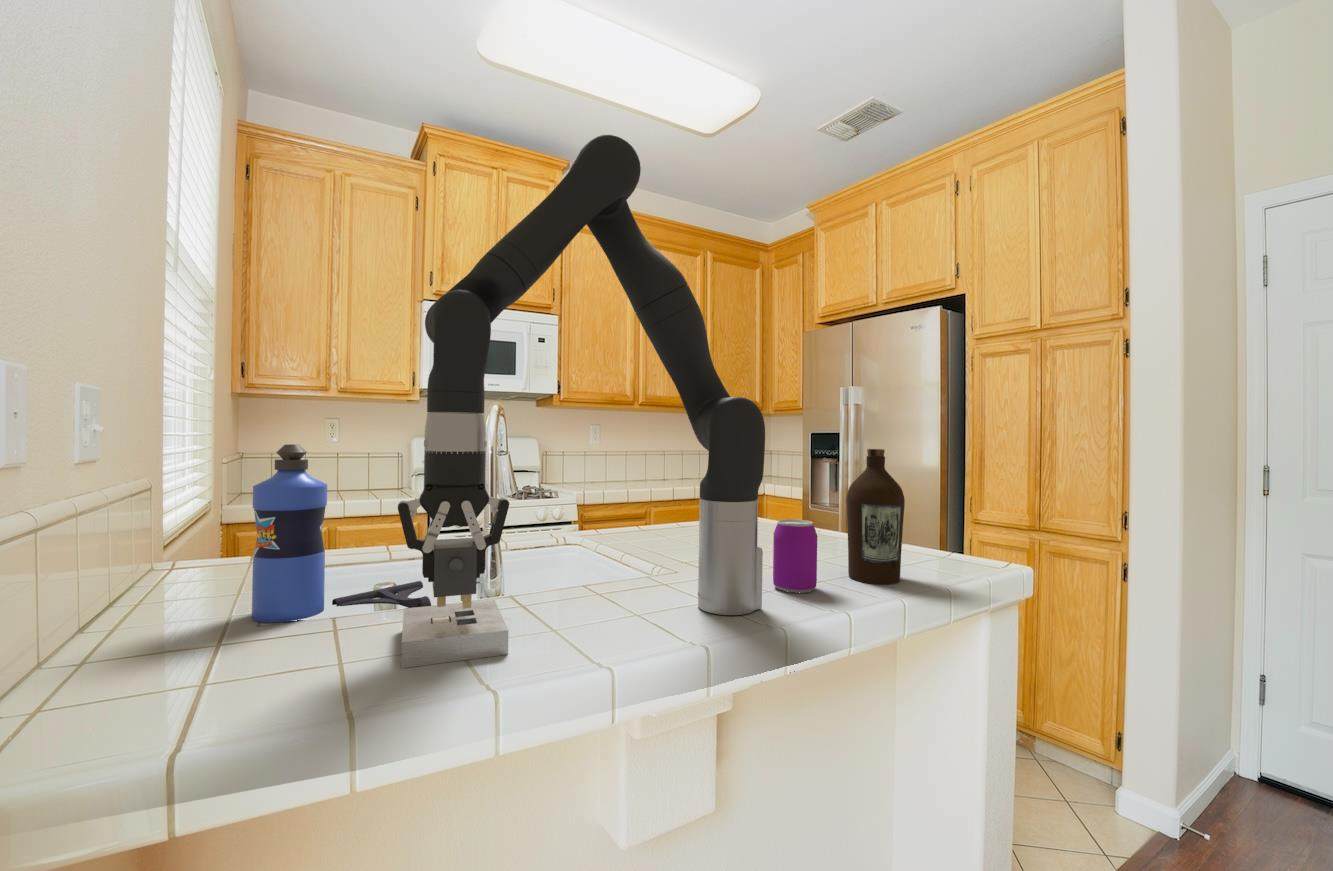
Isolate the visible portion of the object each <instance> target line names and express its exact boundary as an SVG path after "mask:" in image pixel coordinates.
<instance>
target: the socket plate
mask: <svg viewBox="0 0 1333 871" xmlns="http://www.w3.org/2000/svg"><path fill="white" fill-rule="evenodd" d="M443 617H449V620H450V622H444V623H434V624H432V619H433V618H443ZM507 655H509V629H508V626H507V625H506V622H505V619H504V617H503V615H502V614H501V610H500V609H499V606H498V605H497V602H496V600H495V599H490V600H481V601H480V600H478V601H471V608H465V609H463V602H459V603H458V602H457V603H447V604H446V606H444V607H437V604H436V605H431V606H425V607H414V608H408V607H405V608H403V616H402V634H401V656H400V657H401V664H400V665H401V666H400V668H401V669H406V668H407V669H408V668H412V667H413V668H414V667H420V666H429V665H430V666H431V665H437V664H444V663H445V664H446V663H451V662H452V663H453V662H459V661H466V660H467V661H468V660H474V659H475V660H476V659H483V658H490V657H497V656H498V657H499V656H507Z"/></svg>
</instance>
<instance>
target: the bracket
mask: <svg viewBox="0 0 1333 871" xmlns="http://www.w3.org/2000/svg"><path fill="white" fill-rule="evenodd" d="M422 588H424V584H423V582H422V581H421V580H418V581H417V580H416V581H412V582H409V583H404V584H398V585H393V586H389V587H388V586H387V587H384V588H379V589H374V590H370V591H364V592H360V593H355V594H351V595H346V596H341V597H337V598H333V599H332V601H331V605H333V606H336V607H347V606H358V605H371V604H372V605H375V604H386V605H387V604H389V605H399V606H402V607H405V608H414V607H425V606H432V603H431V599H430V598H429V597H428V596H427V595H425V596H422V597H421V596H420V597H413V598H412V597H409V596H410V595H412V594H413V593H415V592H417V591H419V590H421V589H422Z"/></svg>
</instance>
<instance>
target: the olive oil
mask: <svg viewBox="0 0 1333 871" xmlns="http://www.w3.org/2000/svg"><path fill="white" fill-rule="evenodd" d="M866 450H867V451H866V453H867V456H865V457H866V468H865V469H864V471H863V472H862V473H860V474H859V476H857V478H855V479H854V481H853V482H852V483H851V484H850V485H849V487H848V491H847V494H846V502H845V503H846V519H847V520H846V523H847V524H846V526H847V527H846V528H847V551H848V552H847V553H848V556H847V558H848V560H847V561H848V564H847V565H848V569H847V570H848V577H849V578H850V579H851V580H854V581H857V580H858V581H857V582H860V581H861V583H865V582H867V583H866V584H872V583H875V584H874V585H892V583H893V584H897V583H899V582H900V580H901V567H902V566H901V564H902V547H903V532H904V531H903V529H904V528H903V527H904V518H905V506H906V505H905V495H904V492H903V489H902V486H900V484H899V483H898V482H897V481H896V480H895V478H893V476H892V475H891V474H890V473H889V472H888V470H886V468H885V466H886V457H885V449H884V448H867V449H866Z"/></svg>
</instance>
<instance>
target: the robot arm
mask: <svg viewBox="0 0 1333 871" xmlns="http://www.w3.org/2000/svg"><path fill="white" fill-rule="evenodd" d="M641 167H642V166H641V162H640V158H639V155H638V153H637V150H635V148H634V147H633V146H632V145H631V144H630V143H629V141H627V139H626V140H625V139H624V138H623V137H621V136H618V135H614V134H602V135H599V136H596V137H594V138H592V139H590V140H589V141H588V142H587V143H586V144H585V145H584V146H583V147H582V148H581V149H580V151H579V153H578V154H577V156H576V159H575V160H574V161H573V163H572V165H571V166H570V169H569V171H568V172H567V174H565V176H564V177H563V179H562V180H561V181H560V182H559V183H557V185H556V186H555V188H553V190H552V191H551V192H550V193H549V194H548V195H547V196H546V197H545V198H543V200H542V201H541V202H540V203H539V204H538V205H537V206H536V207H535V208H534V209H533V210H532V211H530V212H529V213H528V214H527V215H526V216H525V217H524V218H523V219H522V220H520V221H519V222H518V223H517V224H516V225H515V226H514V227H512V228H511V229H510V230H509V231H508V232H507V233H506V234H505V235H504V236H503V237H502V238H500V240H499V241H497V243H495V244H494V245H493V246H492V247H491V248H490V249H489V250H488V251H487V252H486V253H485V254H484V255H483V256H482V257H481V258H480V259H479V260H478V262H477V263H476V264H475V265H474V267H473V268H472V269H471V270H470V272H469V273H467V275H465V277H463V278H462V279H461V280H460V281H458V282H457V283H456V284H455V285H453V287H451V288H450V289H449V290H448V291H447V292H446V293H444V294H442V295H441V296H439V298H438V299H436V301H435V302H434V303H433V304H432V305H431V306H430V307H429V308H428V310H427V312H426V316H425V318H424V319H425V320H424V328H425V332H426V335H427V337H428V338H429V340H430V341H431V342H432V343H433V354H432V355H433V357H432V358H433V359H432V360H433V361H432V362H433V363H432V368H431V370H430V372H429V375H428V379H427V389H426V390H427V391H426V393H427V394H426V412H427V413H426V420H425V427H424V439H423V448H424V452H423V453H424V457H423V464H424V465H423V490H422V493H421V494H420V496H419V497H417V498H414V499H411V500H400V501H399V502H398V504H397V511H398V515H399V520H400V522H401V523H400V524H401V527H402V531H403V535H404V538H405V539H404V540H405V543H406V546H407V548H408V549H410V550H417V551H420V552H421V554H422V567H421V568H422V571H421V572H422V577H423V578H424V579H427V581H428V583H433V582H434V550H433V547H434V544H435V542H436V540H438V537H439V535H440V532H441V530H442V528H452V527H454V526H457V527H463V528H465V527H468V529H469V531H470V534H471V538H473V540H474V542H475V544H476V545H477V579H480V578H481V575H482V574H484V573H485V571H486V550H487V549H488V548H489V547H491V546H493V545H498V544H499V543H500V541H501V538H502V534H503V531H504V527H505V522H506V519H507V515H508V510H509V507H510V502H509V500H508V499H506V498H505V497H499V498H498V497H495V496H494V497H493V496H490V494H488V491H487V488H486V458H487V457H486V455H487V454H486V452H487V450H486V449H487V445H488V444H487V443H488V442H487V441H488V440H487V429H486V423H485V422H486V421H485V393H486V392H485V375H486V368H487V364H488V363H487V362H488V356H489V350H490V344H491V335H492V334H491V333H492V323H493V322H494V321H495V320H496V319H497V317H499V315H500V314H501V313H503V311H504V310H506V309H507V308H508V307H510V306H511V305H513V304H514V303H516V302H517V301H519V299H520V298H522V297H523V296H524V295H525V293H527V292H528V291H529V290H530V289H531V288H532V287H533V286H534V284H535V283H536V282H537V281H539V280H540V279H541V277H542V276H543V275H544V274H545V273H546V272H547V271H548V270H549V268H550V267H551V266H552V265H553V264H554V263H555V261H556V260H557V259H558V258H559V257H560V256H561V254H562V253H563V252H564V251H565V249H566V248H567V247H568V245H569V244H571V242H572V241H573V240H574V239H575V237H576V236H577V235H578V234H579V232H581V230H583V228H584V227H586V226H587V228H588V229H589V231H590V232H591V233H592V236H593V237H594V238H595V240H596V241H597V243H598V245H599V246H600V247H601V249H602V252H604V254H605V255H606V257H607V260H608V262H609V263H610V265H611V268H612V270H613V272H614V274H615V276H616V277H617V279H618V281H619V283H620V285H621V287H622V289H623V291H624V292H625V294H626V296H627V298H628V300H629V302H630V306H632V309H633V310H634V313H635V315H636V317H637V319H638V320H639V323H640V324H641V327H642V329H643V330H644V332H645V334H646V335H647V337H648V339H649V341H650V342H651V344H652V346H653V349H654V350H655V352H656V354H657V355H658V358H659V360H660V361H661V363H662V364H663V367H664V368H665V370H666V371H667V373H668V375H669V377H670V379H671V381H672V382H673V384H674V386H675V389H676V390H677V394H679V395H678V396H679V397H680V400H681V402H682V404H683V407H684V409H685V413H686V415H687V417H688V420H689V423H690V425H691V427H692V430H693V433H694V435H695V438H696V439H697V441H698V443H699V444H700V445H701V446H702V447H703V448H704V449H706V451H708V458H707V459H708V460H707V461H708V462H707V469H706V473H705V474H704V477H703V478H702V480H700V482H699V506H698V507H699V513H698V516H699V520H698V521H699V522H698V526H699V527H698V528H699V529H698V576H697V578H698V584H697V585H698V586H697V607H698V608H699V609H700V610H702V611H704V612H707V613H709V614H715V615H720V616H722V615H723V616H741V615H747V614H751V613H753V612H754V611H756V610H762V608H763V606H762V605H763V554H764V553H763V552H764V551H763V549H762V547H760V546H758V533H759V532H758V527H759V526H758V524H759V520H758V518H759V516H758V515H759V514H758V513H759V511H758V509H759V508H758V507H759V500H758V499H759V489H760V487H761V484H762V481H763V479H764V468H765V450H766V424H765V418H764V416H763V412H762V411H761V408H759V406H758V405H757V404H756V403H755V402H754V401H753V400H751V399H749V398H747V397H742V396H731V395H730V394H729V393H728V391H727V389H726V387H725V386H724V384H723V382H722V380H721V378H720V377H719V374H718V372H717V371H716V368H715V366H714V363H713V360H712V356H711V351H710V347H709V340H708V335H707V328H706V324H705V320H704V317H703V313H702V310H701V308H700V306H699V303H698V302H697V300H696V298H695V296H694V294H693V292H692V289H691V287H690V286H689V283H688V281H687V280H686V278H685V276H684V275H683V274H682V271H680V270H679V268H678V267H677V266H676V265H674V264H673V262H671V261H670V260H669V259H668V258H667V257H666V256H665V255H663V253H662V252H660V251H659V250H658V249H657V248H656V247H654V245H653V244H651V242H649V241H648V239H647V238H646V236H645V235H644V234H643V233H642V230H641V229H640V227H639V225H638V223H637V221H636V219H635V217H634V214H633V213H632V211H631V208H630V206H629V204H628V199H629V198H630V197H631V196H632V194H633V193H634V191H635V190H636V188H637V186H638V184H639V182H640V177H641V171H642V170H641V169H642V168H641ZM487 505H489V506H490V512H491V513H492V514H494V515H493V519H492V521H491V526H490V529H489V534H486V535H483V533H482V529H481V527H480V525H479V522H478V517H479V516H480V515H481V513H482V511H483V510H484V509H485V508H486V506H487ZM420 507H422V508H423V510H424V511H425V512H426V514H427V515H428V516H429V517H430V519H431V521H430V523H429V526H428V529H427V532H426V535H425V537H424V538H423V539H422V538H420V537H417V533H416V529H415V525H414V521H413V518H414V517H416V515H417V514H418V508H420Z"/></svg>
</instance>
